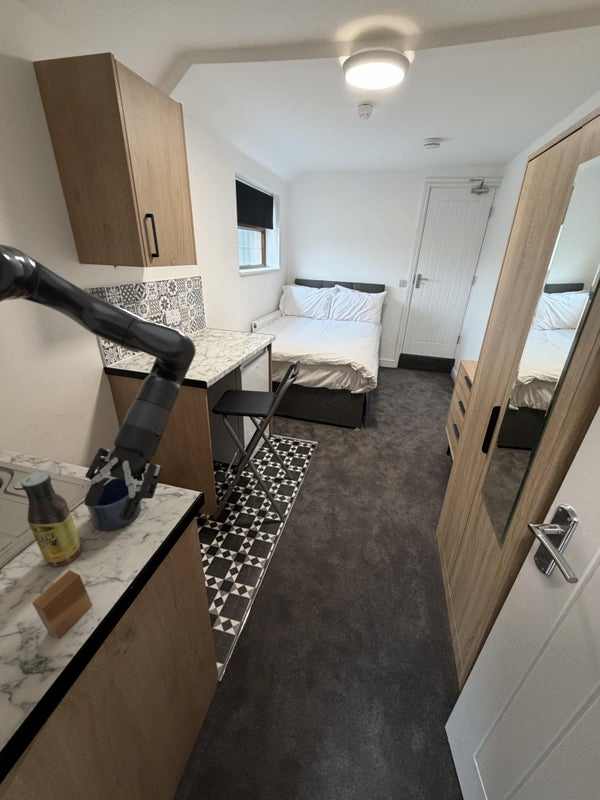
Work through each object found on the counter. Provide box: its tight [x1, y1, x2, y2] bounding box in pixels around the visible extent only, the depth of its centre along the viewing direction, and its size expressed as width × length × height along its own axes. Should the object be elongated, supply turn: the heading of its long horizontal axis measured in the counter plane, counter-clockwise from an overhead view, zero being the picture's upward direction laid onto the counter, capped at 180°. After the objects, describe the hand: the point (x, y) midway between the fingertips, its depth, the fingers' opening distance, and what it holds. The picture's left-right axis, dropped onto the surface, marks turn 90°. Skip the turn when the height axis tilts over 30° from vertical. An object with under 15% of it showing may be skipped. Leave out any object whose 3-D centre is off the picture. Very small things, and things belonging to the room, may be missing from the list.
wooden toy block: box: [31, 569, 93, 640], centre depth 53 cm, size 2×6×8 cm, turn 158°
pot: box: [84, 478, 142, 532], centre depth 75 cm, size 10×10×7 cm
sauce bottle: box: [20, 471, 82, 567], centre depth 62 cm, size 6×6×20 cm
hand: (106, 512), depth 58 cm, fingers open, 8 cm apart
